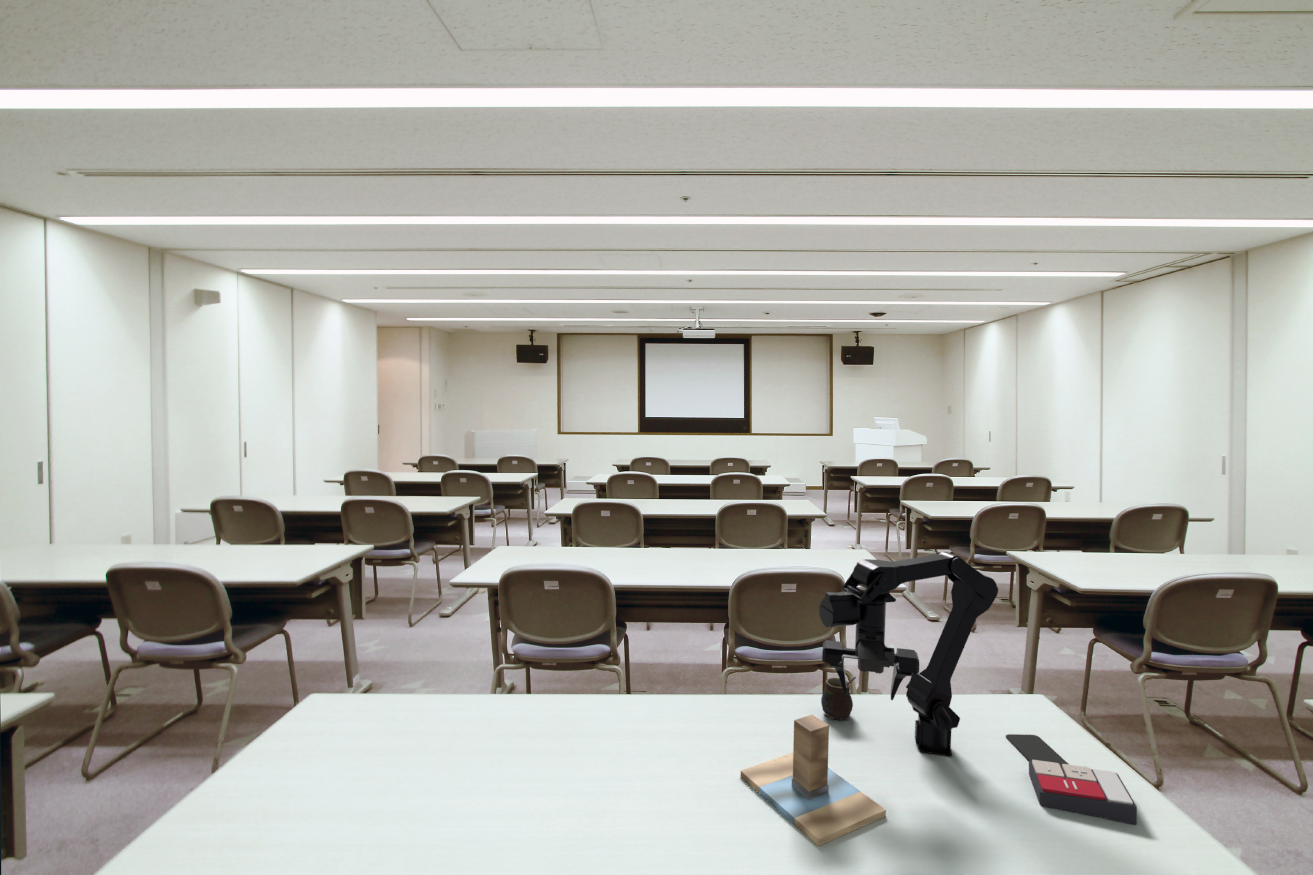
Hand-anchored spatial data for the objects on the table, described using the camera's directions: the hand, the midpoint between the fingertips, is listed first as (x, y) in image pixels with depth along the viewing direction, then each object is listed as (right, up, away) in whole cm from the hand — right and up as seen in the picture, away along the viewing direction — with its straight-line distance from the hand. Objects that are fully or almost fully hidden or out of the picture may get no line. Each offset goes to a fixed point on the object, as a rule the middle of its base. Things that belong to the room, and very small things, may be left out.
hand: (868, 696), depth 133 cm
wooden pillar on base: (-15, -13, -12) cm, 23 cm away
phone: (+37, -14, +2) cm, 39 cm away
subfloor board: (-15, -14, -12) cm, 24 cm away
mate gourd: (-1, -12, +18) cm, 22 cm away
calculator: (+36, -15, -12) cm, 41 cm away
